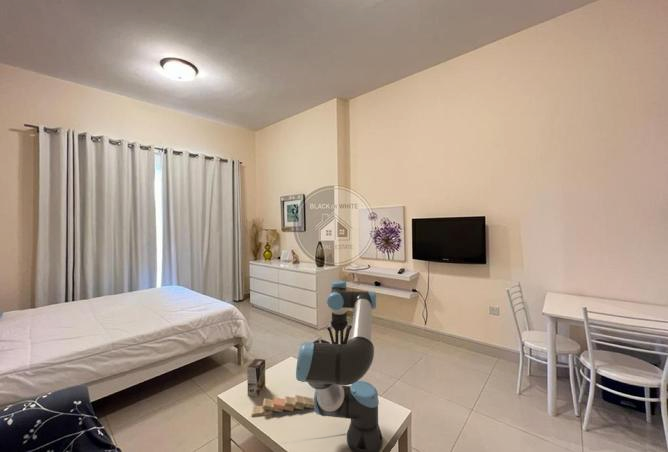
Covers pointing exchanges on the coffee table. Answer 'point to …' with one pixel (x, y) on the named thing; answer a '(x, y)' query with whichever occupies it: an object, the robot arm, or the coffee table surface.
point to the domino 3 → (281, 404)
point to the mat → (292, 412)
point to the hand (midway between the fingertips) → (339, 358)
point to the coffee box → (256, 377)
